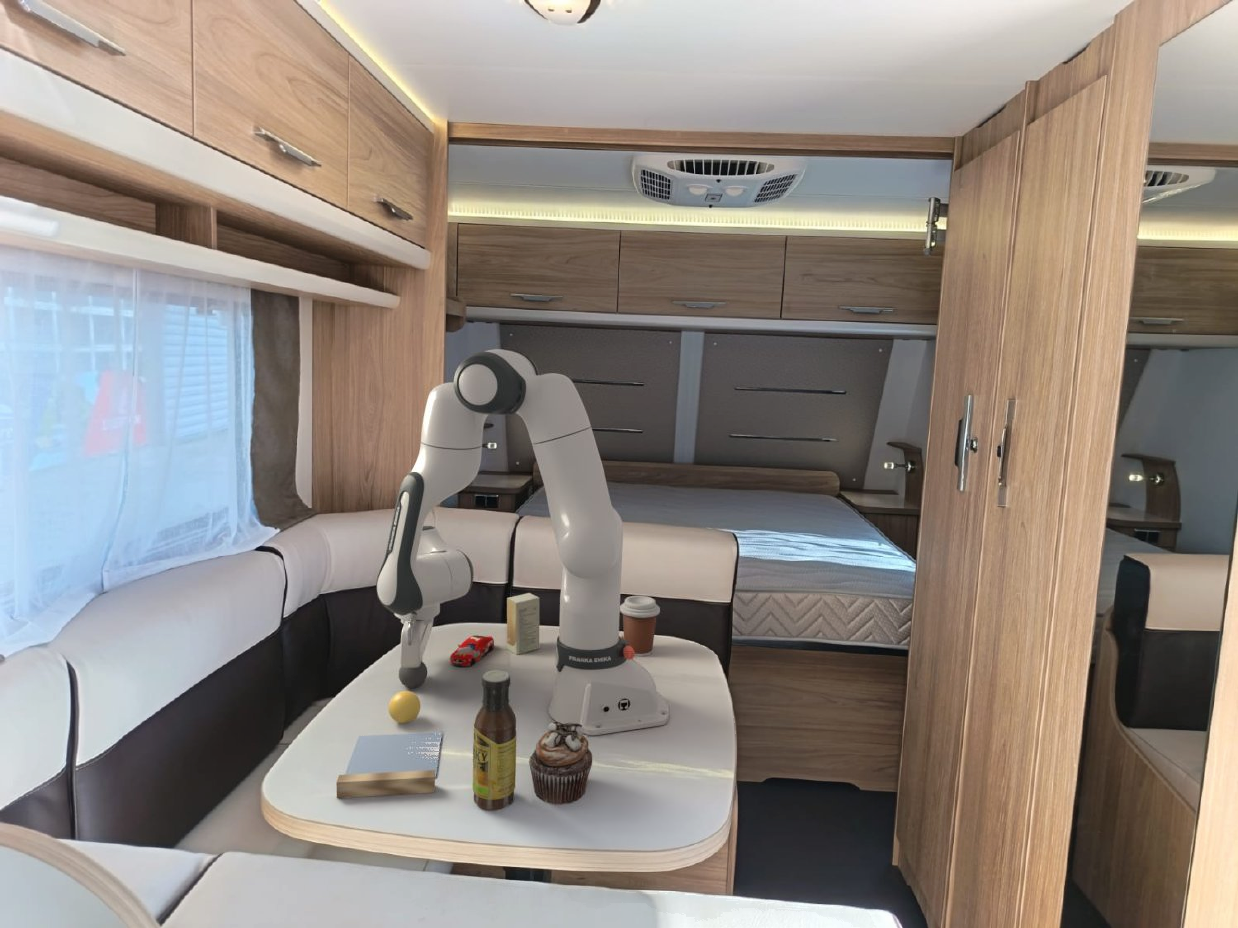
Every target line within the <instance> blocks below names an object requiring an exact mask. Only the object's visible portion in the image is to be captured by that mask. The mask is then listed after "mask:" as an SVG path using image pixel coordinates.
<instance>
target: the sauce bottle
mask: <svg viewBox="0 0 1238 928" xmlns="http://www.w3.org/2000/svg"><path fill="white" fill-rule="evenodd" d="M481 678H482V679H481V686H482V689H483V690H482V701H481V702H482V706H481V708H480V709H479V711H478V713H477V714H476V717H475V719H474V723H473V747H472V790H473V801H474V803H475V804H476V805H477V806H478V807H479V808H481V809H482V810H488V811H500V810H503V809H505V808H507V807H509V806H510V805H512V803H513V801H514V799H515V798H514V797H515V789H516V774H517V773H516V769H517V768H516V767H517V766H516V765H517V718H516V717H517V716H516V714H515V711H514V710H513V708H512V706H511V705H510V697H509V692H510V689H509V688H510V687H511V683H512V682H511V675H510V673H509V672H507V671H505V670H501V669H494V670H493V669H492V670H488V671H486V672H484V673H483V675H482V677H481Z"/></svg>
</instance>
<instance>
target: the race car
mask: <svg viewBox="0 0 1238 928" xmlns="http://www.w3.org/2000/svg"><path fill="white" fill-rule="evenodd" d="M457 647H458V648H457V649H455V650H454V651H453V652H452V653H451V654H450V657H449V662H450V664H451V665H453V666H455V667H472V666H473V665H475V663H477V662H478V661H480V660H481V659H482V658H484V657H485V656H487V655H488V654H489V653H491V652H492V651H493V650H494V648H495V640H494V638H493V636H492V635H486V634H476V635H475V634H474V635H472V636H469V637H468V638H467V639H465V640H464V641H463V642H462V643H461V644H457Z"/></svg>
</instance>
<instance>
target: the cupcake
mask: <svg viewBox="0 0 1238 928" xmlns="http://www.w3.org/2000/svg"><path fill="white" fill-rule="evenodd" d="M547 729H548V732H546V733H544V734H543V735H542V737H541V738H540V739H539V740H538V742H537V743H536V746H535V749H534V750H533V751H534V752H533V753H532V755H531V756H529V758H528V759H529V761H528V763H529V770H530V774H531V778H532V784H533V790H534V794H535V796H536V797H537V798H538V799H539V800H540V801H542V802H544V803H548V804H550V805H551V804H552V805H566V804H567V805H568V804H572V803H574V802H577V801H578V800H580V799H581V798H583V796H584V795H585V793H586V788H587V782H588V778H589V775H590V771H591V769H592V766H593V754H592V751H591V750H590V749H589V740H588V739H587V738H586V736H585V735H584V734H585V733H584V729H583V728H582V725H580V724H576V723H566V724H561V723H560V722H557V721H556V720H554V722H550V723H549V725H548V728H547Z"/></svg>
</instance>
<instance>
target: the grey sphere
mask: <svg viewBox="0 0 1238 928" xmlns="http://www.w3.org/2000/svg"><path fill="white" fill-rule="evenodd" d="M427 677H428V667H427V665H426V664H425V663H424V662H423V660H422V661H421V663H420V666H419V667H417V668H403V667H401V666H400V667H399V670H398V678H399V680H400V682H401V684H402V686H403V685H404V686H405V687H406V688H411V689H412V688H413V689H415V688H419V687H420V686H422V684H424V683H425V681H426V680H427Z"/></svg>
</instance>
